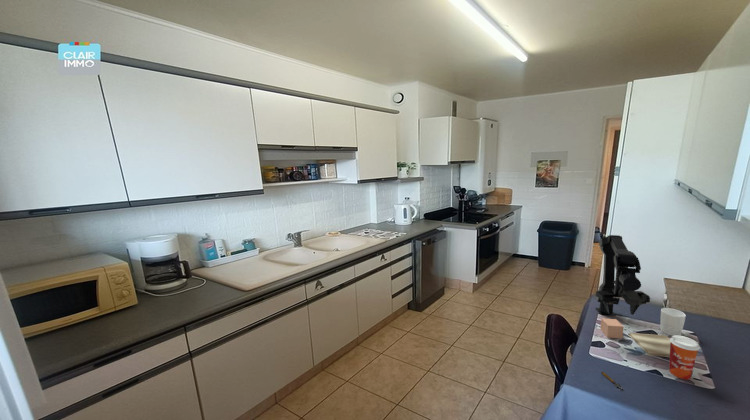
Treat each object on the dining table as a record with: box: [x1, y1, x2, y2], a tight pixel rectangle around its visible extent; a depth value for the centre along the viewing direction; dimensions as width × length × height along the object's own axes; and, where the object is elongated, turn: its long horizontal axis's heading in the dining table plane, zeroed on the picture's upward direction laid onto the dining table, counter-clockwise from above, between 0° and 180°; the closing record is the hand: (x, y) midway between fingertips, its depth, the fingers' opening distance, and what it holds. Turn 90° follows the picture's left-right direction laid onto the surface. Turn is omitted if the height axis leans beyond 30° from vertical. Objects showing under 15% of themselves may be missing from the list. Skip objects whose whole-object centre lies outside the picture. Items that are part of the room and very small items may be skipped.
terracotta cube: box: [599, 317, 625, 339], centre depth 135 cm, size 6×6×6 cm
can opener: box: [600, 371, 624, 391], centre depth 108 cm, size 9×2×1 cm, turn 179°
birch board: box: [628, 332, 671, 358], centre depth 126 cm, size 14×14×1 cm
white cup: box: [659, 307, 687, 337], centre depth 134 cm, size 8×8×10 cm
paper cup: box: [668, 335, 701, 380], centre depth 109 cm, size 8×8×14 cm
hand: (620, 313), depth 132 cm, fingers open, 9 cm apart
